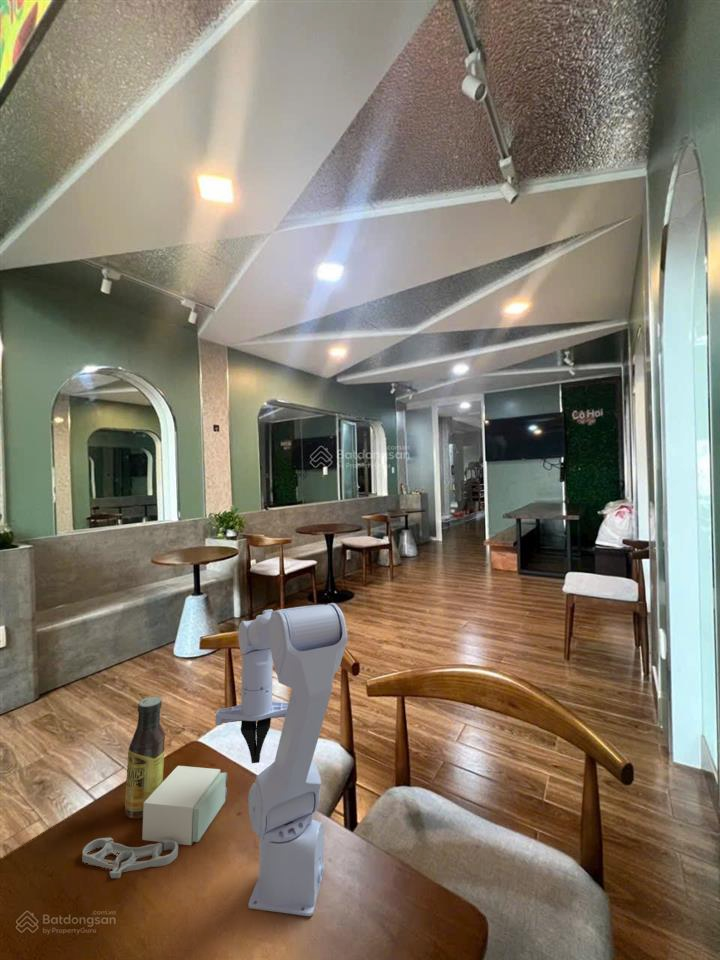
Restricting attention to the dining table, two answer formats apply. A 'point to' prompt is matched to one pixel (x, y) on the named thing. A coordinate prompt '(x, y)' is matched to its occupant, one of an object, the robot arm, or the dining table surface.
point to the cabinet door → (209, 806)
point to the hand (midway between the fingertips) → (255, 759)
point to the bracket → (128, 855)
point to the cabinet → (176, 804)
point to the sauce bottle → (145, 757)
